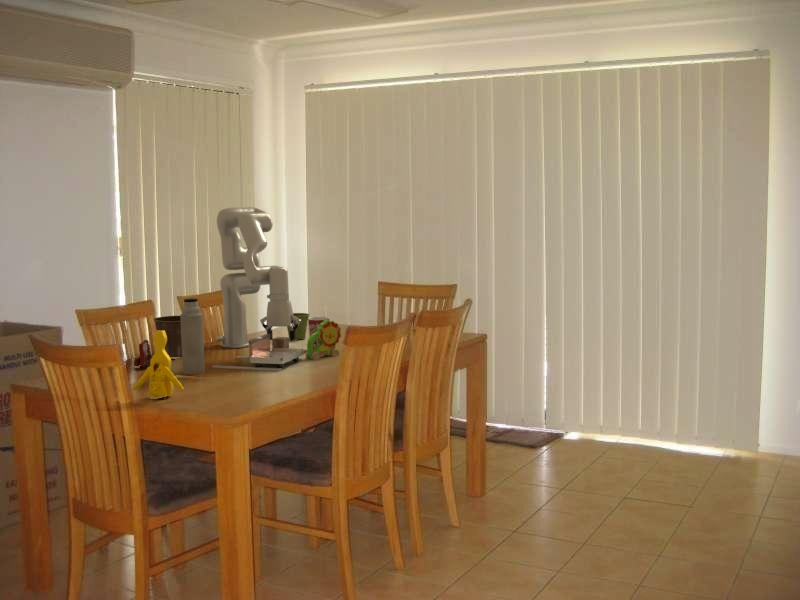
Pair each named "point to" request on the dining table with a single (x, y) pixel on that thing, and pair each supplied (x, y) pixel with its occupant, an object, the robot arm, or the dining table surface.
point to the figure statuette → (159, 370)
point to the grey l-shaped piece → (270, 352)
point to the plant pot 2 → (300, 326)
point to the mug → (315, 327)
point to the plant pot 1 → (171, 334)
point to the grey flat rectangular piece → (249, 367)
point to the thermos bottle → (192, 338)
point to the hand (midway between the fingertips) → (281, 340)
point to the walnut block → (280, 342)
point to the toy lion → (324, 340)
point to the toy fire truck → (144, 354)
